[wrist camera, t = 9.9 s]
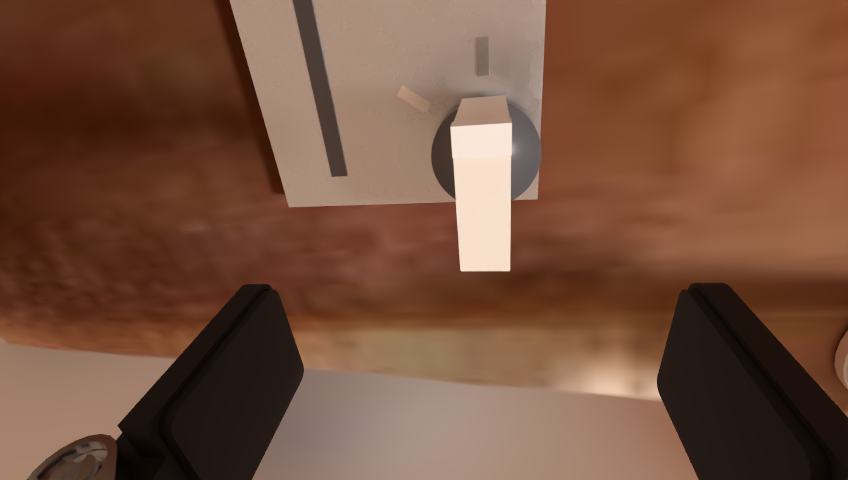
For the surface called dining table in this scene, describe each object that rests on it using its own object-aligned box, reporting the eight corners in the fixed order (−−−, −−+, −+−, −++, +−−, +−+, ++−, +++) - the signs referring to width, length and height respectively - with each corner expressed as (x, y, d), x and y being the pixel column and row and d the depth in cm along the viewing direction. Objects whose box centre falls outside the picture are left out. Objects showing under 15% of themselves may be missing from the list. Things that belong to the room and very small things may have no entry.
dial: (537, 203, 23) (555, 272, 17) (437, 206, 24) (418, 272, 18) (542, 87, 20) (566, 119, 14) (427, 96, 21) (401, 129, 15)
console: (534, 186, 25) (537, 199, 23) (301, 195, 28) (288, 207, 26) (552, -288, 16) (560, -329, 14) (195, -202, 18) (162, -227, 16)
